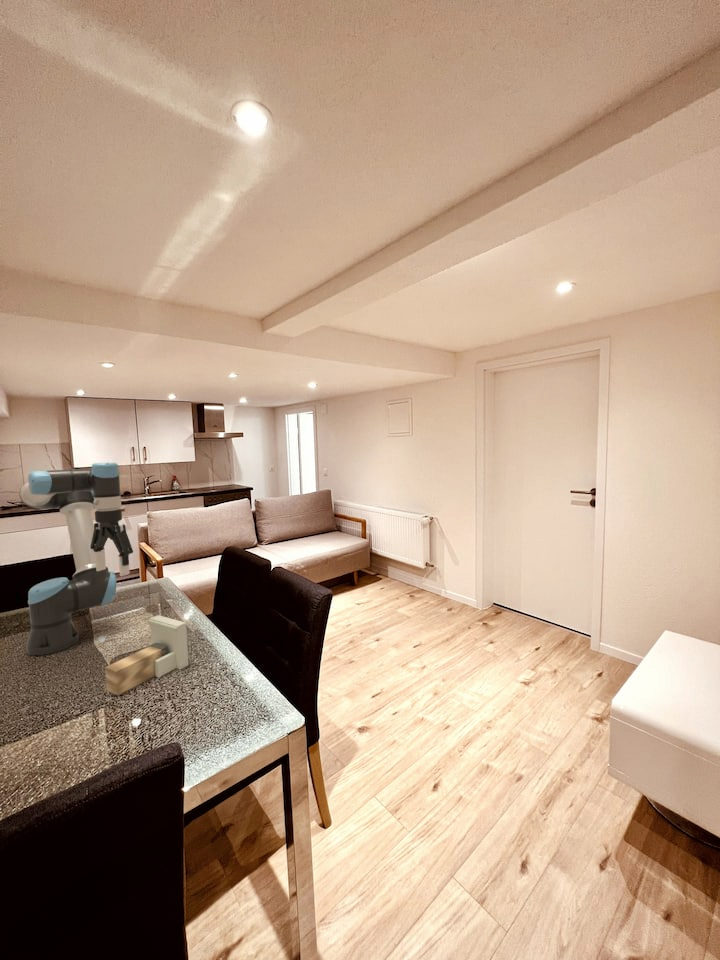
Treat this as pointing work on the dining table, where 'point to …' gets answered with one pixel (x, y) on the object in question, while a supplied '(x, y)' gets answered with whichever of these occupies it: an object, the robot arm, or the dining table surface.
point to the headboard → (169, 643)
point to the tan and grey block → (133, 669)
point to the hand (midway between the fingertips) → (112, 572)
